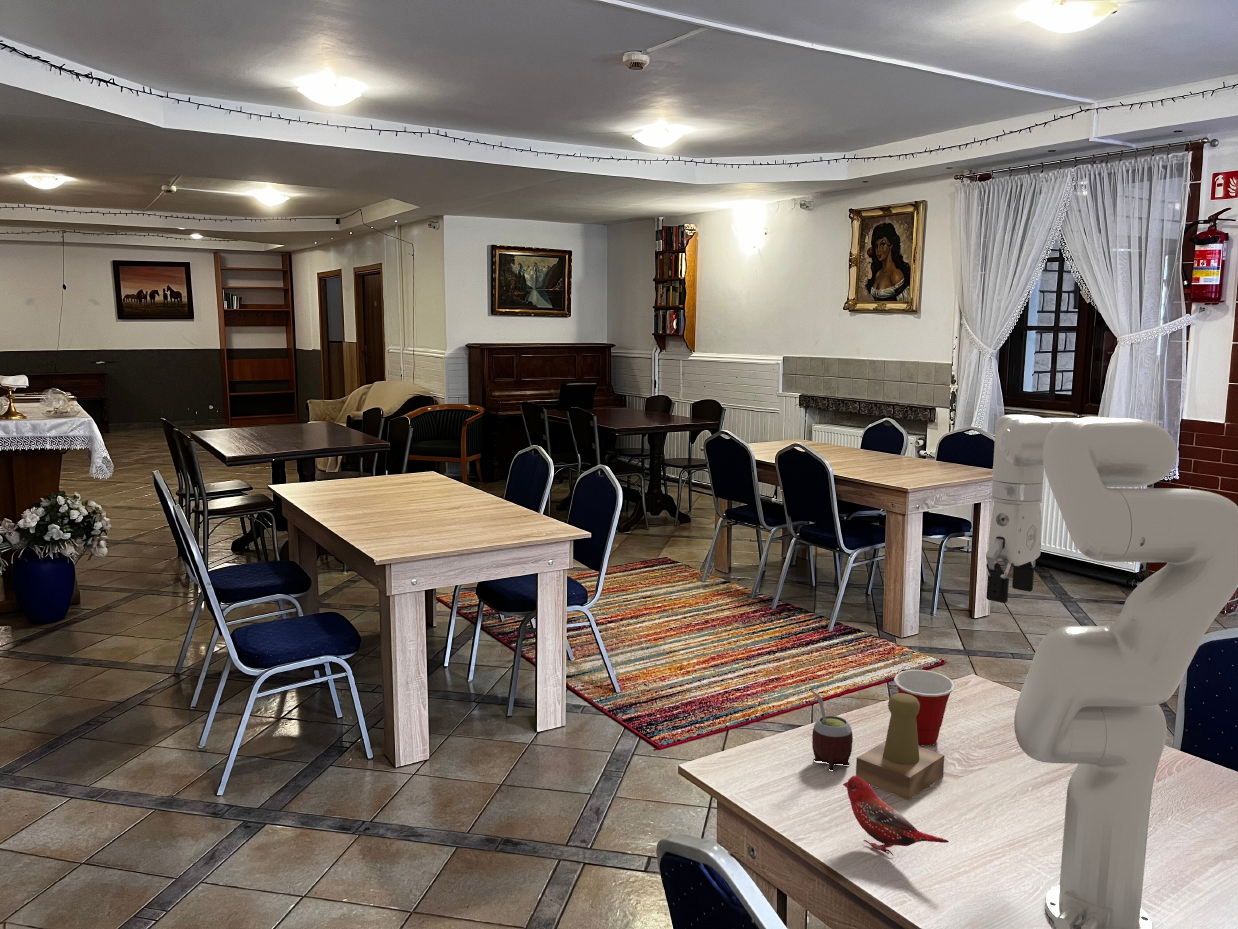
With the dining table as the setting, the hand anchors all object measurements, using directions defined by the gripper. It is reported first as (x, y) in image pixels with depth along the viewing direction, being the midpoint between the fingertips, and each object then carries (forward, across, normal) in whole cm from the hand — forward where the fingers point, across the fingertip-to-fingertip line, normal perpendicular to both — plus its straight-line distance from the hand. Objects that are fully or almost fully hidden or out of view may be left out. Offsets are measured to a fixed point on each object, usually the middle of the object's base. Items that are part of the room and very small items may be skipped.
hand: (1009, 595), depth 150 cm
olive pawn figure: (+31, -7, +14) cm, 34 cm away
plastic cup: (+34, +10, +19) cm, 41 cm away
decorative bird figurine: (+34, -30, +2) cm, 46 cm away
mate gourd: (+34, -11, +25) cm, 44 cm away
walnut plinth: (+34, -7, +14) cm, 38 cm away
